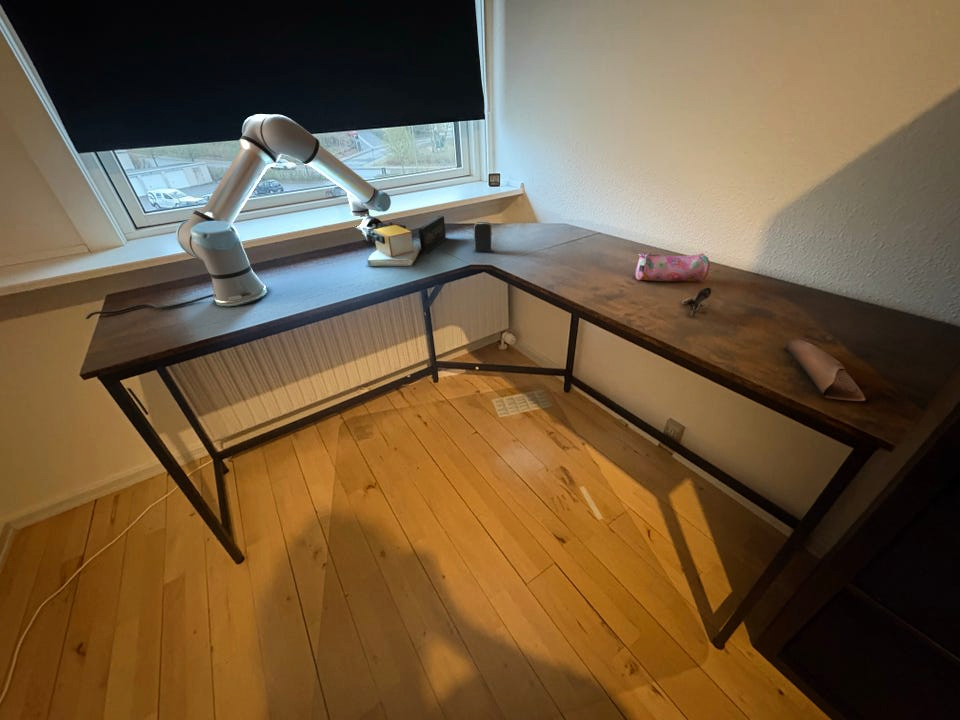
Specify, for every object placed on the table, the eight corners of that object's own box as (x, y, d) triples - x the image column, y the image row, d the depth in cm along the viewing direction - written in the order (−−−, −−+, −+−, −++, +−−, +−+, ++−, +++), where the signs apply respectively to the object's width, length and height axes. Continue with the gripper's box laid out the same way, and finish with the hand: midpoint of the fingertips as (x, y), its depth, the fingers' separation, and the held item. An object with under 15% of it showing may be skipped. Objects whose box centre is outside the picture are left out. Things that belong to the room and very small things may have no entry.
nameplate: (442, 238, 172) (440, 215, 167) (445, 238, 172) (443, 215, 166) (421, 253, 156) (418, 228, 151) (425, 253, 156) (422, 228, 150)
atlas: (368, 266, 146) (367, 259, 144) (382, 248, 162) (381, 242, 161) (411, 265, 145) (410, 259, 143) (421, 248, 161) (420, 242, 160)
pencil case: (636, 284, 124) (641, 257, 119) (631, 274, 131) (636, 248, 126) (705, 286, 121) (714, 259, 116) (697, 275, 128) (705, 249, 123)
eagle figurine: (715, 316, 102) (716, 297, 108) (706, 296, 100) (707, 278, 105) (685, 324, 108) (687, 305, 113) (675, 305, 105) (678, 287, 110)
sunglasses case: (871, 401, 74) (867, 376, 71) (826, 410, 77) (821, 387, 75) (824, 351, 88) (819, 329, 86) (788, 361, 92) (782, 340, 89)
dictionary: (376, 249, 154) (372, 229, 149) (398, 244, 159) (395, 224, 154) (391, 257, 145) (387, 236, 141) (414, 251, 150) (411, 231, 146)
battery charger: (492, 249, 157) (492, 221, 151) (491, 252, 154) (491, 223, 148) (476, 249, 158) (474, 221, 152) (474, 252, 155) (473, 223, 149)
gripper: (344, 221, 154) (367, 233, 139) (393, 211, 165) (419, 221, 150) (348, 240, 158) (371, 253, 143) (396, 229, 169) (422, 240, 154)
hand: (396, 237), depth 147 cm, fingers closed on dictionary, 10 cm apart
